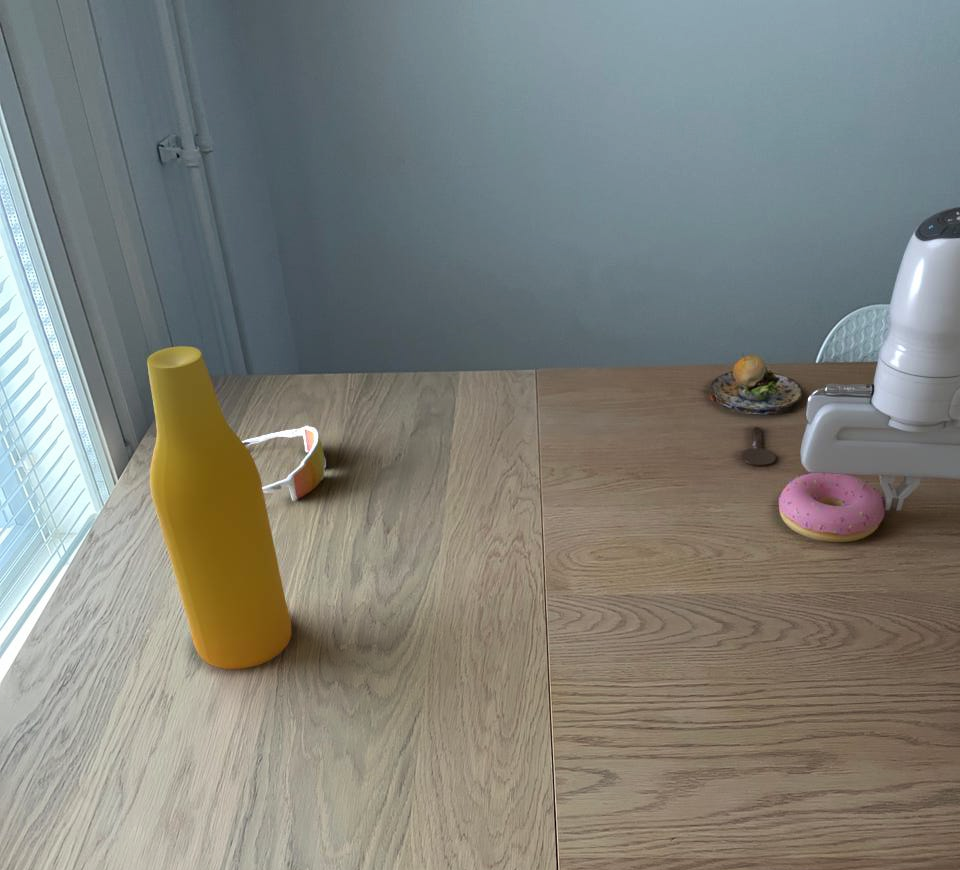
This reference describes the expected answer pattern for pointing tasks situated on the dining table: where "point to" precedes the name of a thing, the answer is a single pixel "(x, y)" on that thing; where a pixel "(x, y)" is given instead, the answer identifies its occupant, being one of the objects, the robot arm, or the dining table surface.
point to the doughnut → (831, 507)
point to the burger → (755, 389)
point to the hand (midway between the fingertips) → (890, 508)
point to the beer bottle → (213, 519)
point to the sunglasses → (310, 467)
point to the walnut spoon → (757, 452)
